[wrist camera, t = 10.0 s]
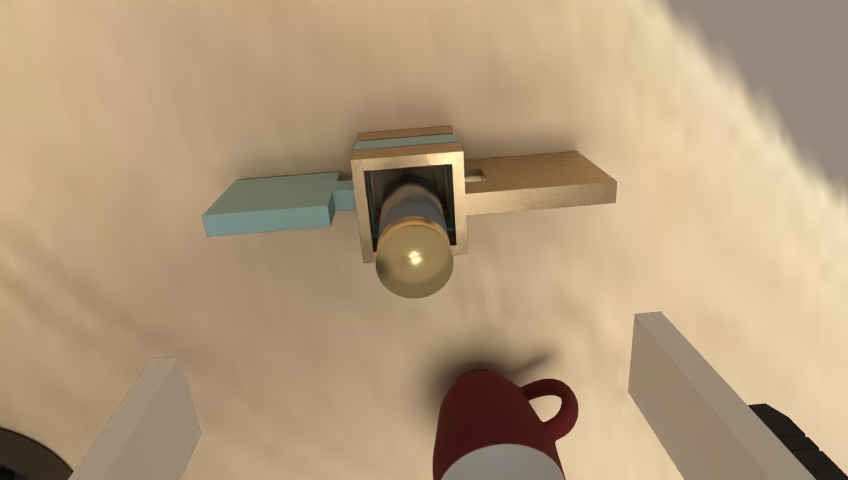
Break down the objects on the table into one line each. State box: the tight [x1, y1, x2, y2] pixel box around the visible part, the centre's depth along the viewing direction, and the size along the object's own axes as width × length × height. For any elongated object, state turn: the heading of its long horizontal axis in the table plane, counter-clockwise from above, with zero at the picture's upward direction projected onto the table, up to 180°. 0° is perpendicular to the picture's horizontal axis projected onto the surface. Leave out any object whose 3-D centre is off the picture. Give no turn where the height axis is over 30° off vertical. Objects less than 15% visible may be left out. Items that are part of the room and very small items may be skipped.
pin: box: [376, 165, 453, 298], centre depth 29 cm, size 3×3×14 cm
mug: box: [433, 369, 578, 480], centre depth 38 cm, size 11×8×10 cm
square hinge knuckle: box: [350, 126, 617, 263], centre depth 32 cm, size 14×6×7 cm, turn 94°
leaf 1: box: [202, 134, 458, 237], centre depth 32 cm, size 14×6×7 cm, turn 94°
